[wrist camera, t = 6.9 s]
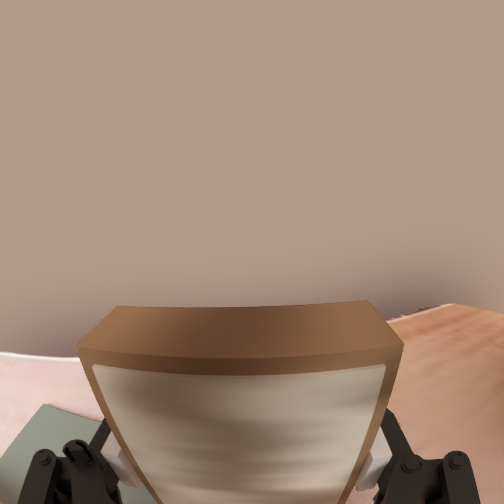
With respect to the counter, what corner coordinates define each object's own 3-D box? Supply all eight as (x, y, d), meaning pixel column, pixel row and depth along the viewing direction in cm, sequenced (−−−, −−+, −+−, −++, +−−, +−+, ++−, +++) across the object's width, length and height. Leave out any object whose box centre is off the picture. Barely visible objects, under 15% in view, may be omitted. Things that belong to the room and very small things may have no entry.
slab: (325, 489, 12) (368, 300, 9) (331, 527, 9) (406, 346, 6) (182, 489, 13) (117, 305, 10) (174, 526, 10) (73, 348, 6)
